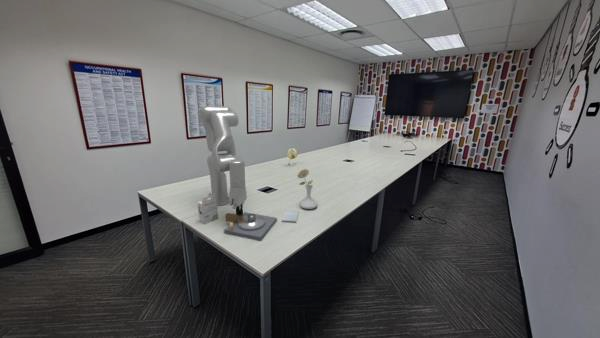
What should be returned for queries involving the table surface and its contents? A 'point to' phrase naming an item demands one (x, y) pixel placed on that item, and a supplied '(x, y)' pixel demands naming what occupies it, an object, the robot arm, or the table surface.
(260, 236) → the base plate
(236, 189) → the robot arm
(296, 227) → the table surface
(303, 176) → the flower in vase
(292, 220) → the hard drive
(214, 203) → the ink box
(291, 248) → the table surface
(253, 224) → the wooden handled frying pan
